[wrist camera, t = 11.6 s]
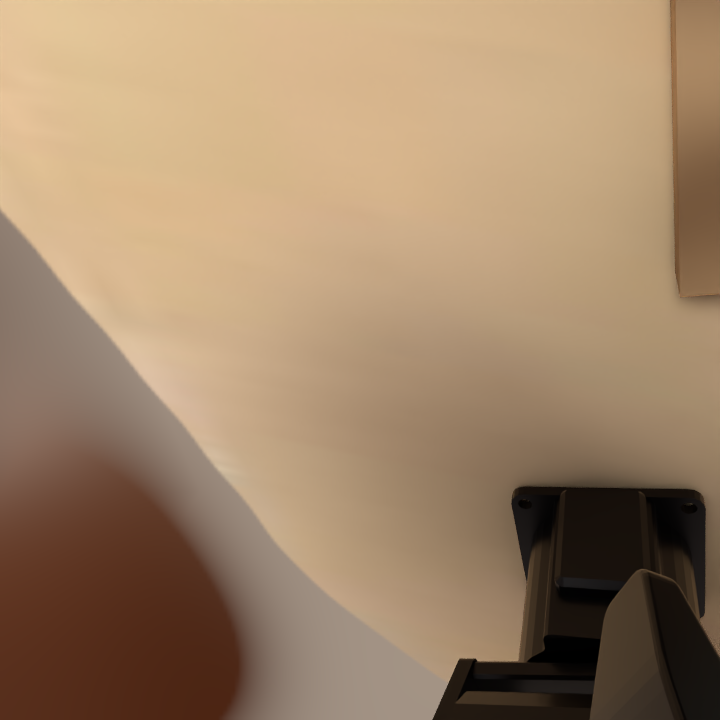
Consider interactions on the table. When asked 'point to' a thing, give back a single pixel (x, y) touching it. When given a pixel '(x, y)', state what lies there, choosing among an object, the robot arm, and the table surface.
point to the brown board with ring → (696, 144)
